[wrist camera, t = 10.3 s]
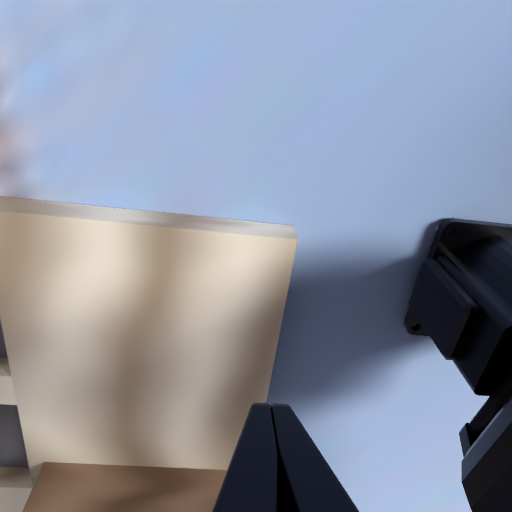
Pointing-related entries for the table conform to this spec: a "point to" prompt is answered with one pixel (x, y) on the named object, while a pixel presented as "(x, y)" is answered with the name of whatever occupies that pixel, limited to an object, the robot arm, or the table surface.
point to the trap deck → (132, 336)
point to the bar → (123, 488)
